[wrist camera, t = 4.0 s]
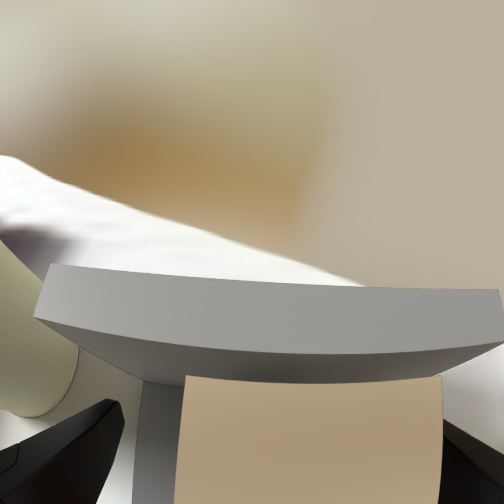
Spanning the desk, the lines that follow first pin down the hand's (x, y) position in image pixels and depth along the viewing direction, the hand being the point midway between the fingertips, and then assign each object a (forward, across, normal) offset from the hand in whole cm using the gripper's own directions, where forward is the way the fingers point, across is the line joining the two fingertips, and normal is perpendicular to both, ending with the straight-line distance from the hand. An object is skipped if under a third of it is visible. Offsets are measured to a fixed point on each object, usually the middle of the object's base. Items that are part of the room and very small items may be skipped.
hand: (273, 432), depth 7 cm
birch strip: (+3, 0, +5) cm, 6 cm away
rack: (+1, 0, +9) cm, 9 cm away
